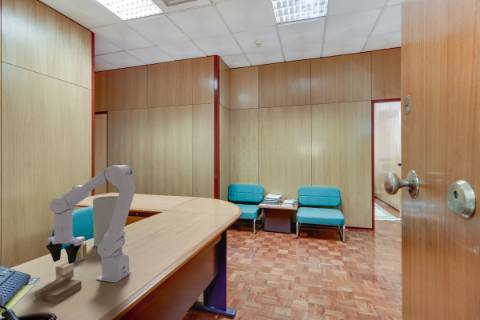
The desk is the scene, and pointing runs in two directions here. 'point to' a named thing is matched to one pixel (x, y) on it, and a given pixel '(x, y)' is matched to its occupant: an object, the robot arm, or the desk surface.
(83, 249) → the supplement bottle
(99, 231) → the cylinder vase
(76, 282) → the walnut block
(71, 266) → the maple block
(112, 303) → the desk surface
